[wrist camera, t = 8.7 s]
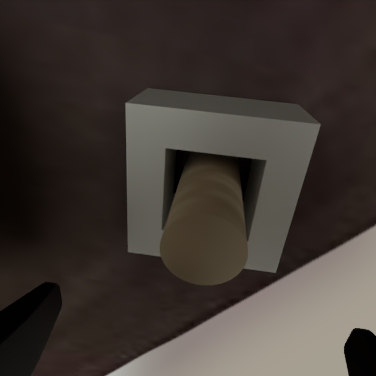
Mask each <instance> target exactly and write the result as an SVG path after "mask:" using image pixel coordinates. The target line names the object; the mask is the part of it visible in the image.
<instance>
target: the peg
mask: <svg viewBox="0 0 376 376" xmlns="http://www.w3.org/2000/svg"><path fill="white" fill-rule="evenodd" d="M160 255H161V258H162V261H163V263H164V264H165V266H166V267H167V268H168V270H169V271H170V272H171V273H173V274H174V275H175V276H177V277H178V278H180V279H182V280H184V281H186V282H189V283H192V284H197V285H217V284H221V283H224V282H227V281H229V280H231V279H233V278H234V277H235V276H237V275H238V274H239V273H240V272H241V271H242V269H243V268H244V266H245V264H246V262H247V258H248V246H247V237H246V228H245V218H244V209H243V200H242V190H241V181H240V172H239V163H238V157H236V156H227V155H219V154H211V153H202V152H194V151H190V152H189V153H188V156H187V159H186V162H185V165H184V168H183V171H182V175H181V178H180V181H179V184H178V187H177V190H176V194H175V197H174V200H173V203H172V206H171V209H170V213H169V216H168V219H167V222H166V225H165V228H164V232H163V235H162V238H161V241H160Z"/></svg>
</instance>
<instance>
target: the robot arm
mask: <svg viewBox="0 0 376 376" xmlns="http://www.w3.org/2000/svg"><path fill="white" fill-rule="evenodd" d="M61 307H62V298H61V292H60V287H59V285H58V284H57V283H51V282H45V283H43V284H41V285H39V286H38V287H36V288H35V289H33V290H32V291H30V292H29V293H27V294H26V295H24V296H23V297H21V298H20V299H18V300H17V301H15V302H14V303H12V304H11V305H9V306H8V307H6V308H5V309H3V310H2V311H0V376H31V374H32V373H33V371H34V369H35V367H36V365H37V363H38V361H39V359H40V357H41V355H42V353H43V350H44V348H45V346H46V343H47V341H48V338H49V336H50V334H51V331H52V329H53V327H54V324H55V322H56V319H57V317H58V315H59V312H60V310H61ZM344 354H345V359H346V364H347V369H348V374H349V376H376V336H375V335H374V334H373V333H372V332H371V331H369V330H366V329H360V328H355V329H353V330H352V332H351V334H350V336H349V338H348V339H347V341H346V343H345V346H344Z"/></svg>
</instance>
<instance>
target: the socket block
mask: <svg viewBox="0 0 376 376" xmlns="http://www.w3.org/2000/svg"><path fill="white" fill-rule="evenodd" d="M320 125H321V124H320V123H319V122H317V121H316V120H315V119H314V118H313V117H312V116H311V115H310V114H309V113H307V112H306V111H305V110H304V109H303V108H302V107H301V106H300V105H299V104H292V103H282V102H273V101H264V100H255V99H245V98H236V97H227V96H217V95H208V94H199V93H189V92H180V91H171V90H161V89H152V88H147V89H146V90H144V91H143V92H141V93H140V94H138V95H137V96H135V97H134V98H132V99H131V100H129V101H128V102H126V161H127V223H128V252H132V253H139V254H146V255H153V256H160V257H161V255H160V241H161V238H162V235H163V232H164V228H165V225H166V222H167V219H168V216H169V213H170V209H171V206H172V203H173V200H174V197H175V194H176V193H173V192H174V178H175V163H176V149H177V150H185V151H194V152H202V153H211V154H219V155H227V156H236V157H244V158H252V163H251V167H250V172H249V177H248V182H247V187H246V192H245V197H244V202H243V209H244V218H245V228H246V237H247V246H248V258H247V262H246V264H245V266H244V268H245V269H252V270H259V271H266V272H273V273H276V270H277V267H278V264H279V261H280V257H281V254H282V251H283V247H284V244H285V241H286V237H287V234H288V231H289V228H290V224H291V221H292V218H293V214H294V211H295V208H296V204H297V201H298V198H299V195H300V191H301V188H302V185H303V181H304V178H305V175H306V171H307V168H308V165H309V162H310V158H311V155H312V152H313V148H314V145H315V142H316V139H317V135H318V132H319V129H320Z"/></svg>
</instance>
